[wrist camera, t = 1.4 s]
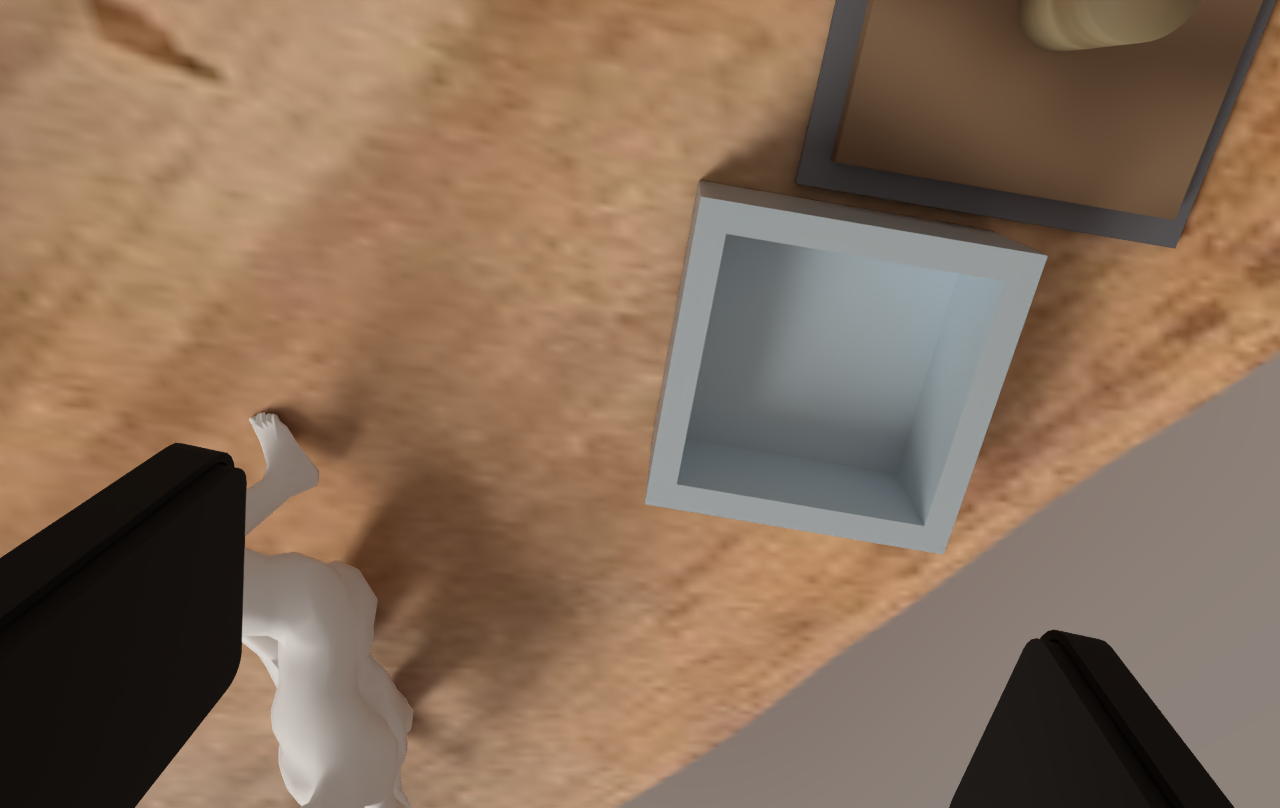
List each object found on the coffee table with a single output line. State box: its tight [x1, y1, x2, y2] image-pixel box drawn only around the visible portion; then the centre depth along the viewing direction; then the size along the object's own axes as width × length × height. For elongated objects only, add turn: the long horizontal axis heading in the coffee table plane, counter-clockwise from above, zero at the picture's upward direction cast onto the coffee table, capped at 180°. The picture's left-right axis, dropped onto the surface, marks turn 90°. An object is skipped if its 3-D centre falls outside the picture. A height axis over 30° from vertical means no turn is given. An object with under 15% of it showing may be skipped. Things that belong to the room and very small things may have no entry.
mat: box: [795, 0, 1276, 248], centre depth 27 cm, size 14×14×1 cm
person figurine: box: [242, 412, 414, 808], centre depth 33 cm, size 13×13×18 cm
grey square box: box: [645, 181, 1048, 555], centre depth 29 cm, size 11×11×5 cm
